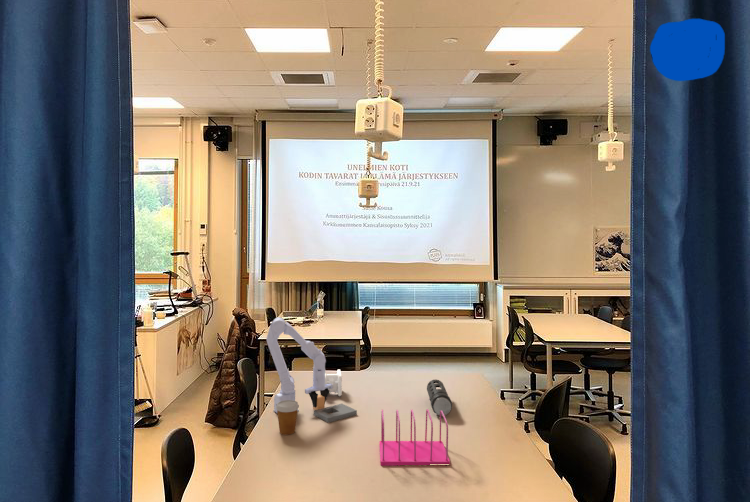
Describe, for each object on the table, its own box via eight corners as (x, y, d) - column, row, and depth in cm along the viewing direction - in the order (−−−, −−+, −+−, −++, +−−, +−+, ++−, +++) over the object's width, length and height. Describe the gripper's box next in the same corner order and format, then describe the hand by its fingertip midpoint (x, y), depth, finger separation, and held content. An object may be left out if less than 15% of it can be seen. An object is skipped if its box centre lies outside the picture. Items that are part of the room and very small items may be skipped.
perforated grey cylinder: (444, 398, 241) (444, 378, 241) (452, 419, 213) (453, 396, 213) (426, 398, 241) (426, 378, 241) (431, 418, 213) (432, 396, 213)
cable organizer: (341, 398, 240) (342, 376, 240) (321, 399, 238) (321, 376, 238) (340, 389, 255) (340, 368, 254) (320, 390, 253) (320, 368, 253)
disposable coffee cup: (293, 437, 191) (294, 408, 191) (272, 435, 193) (272, 406, 193) (302, 428, 200) (302, 400, 200) (281, 426, 202) (281, 399, 202)
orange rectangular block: (317, 411, 221) (317, 398, 221) (313, 408, 224) (313, 396, 224) (324, 409, 224) (324, 396, 224) (320, 407, 227) (320, 394, 227)
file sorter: (379, 445, 185) (379, 405, 185) (442, 445, 185) (442, 406, 185) (380, 466, 167) (380, 422, 167) (450, 466, 168) (450, 423, 168)
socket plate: (327, 422, 207) (327, 418, 207) (313, 414, 216) (313, 410, 216) (356, 414, 217) (356, 410, 217) (341, 407, 226) (341, 403, 226)
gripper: (310, 382, 216) (310, 411, 216) (336, 376, 225) (336, 404, 226) (302, 378, 222) (302, 407, 222) (328, 373, 231) (328, 400, 231)
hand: (318, 405), depth 224 cm, fingers closed on orange rectangular block, 4 cm apart
